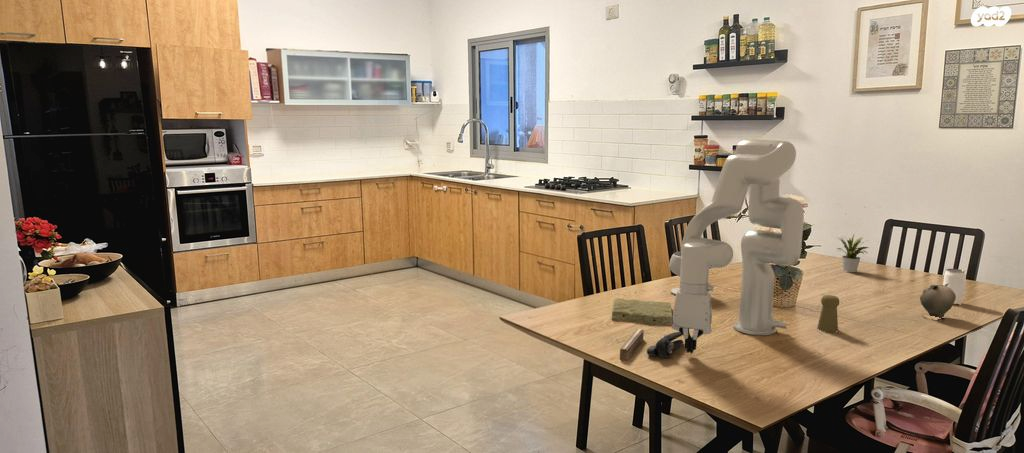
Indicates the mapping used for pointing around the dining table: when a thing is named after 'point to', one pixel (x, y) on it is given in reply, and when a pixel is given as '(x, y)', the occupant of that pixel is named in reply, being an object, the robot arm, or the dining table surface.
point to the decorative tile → (642, 311)
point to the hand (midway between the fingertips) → (690, 351)
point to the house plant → (851, 255)
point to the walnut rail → (631, 344)
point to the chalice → (675, 267)
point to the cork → (828, 314)
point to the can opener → (665, 345)
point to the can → (955, 282)
